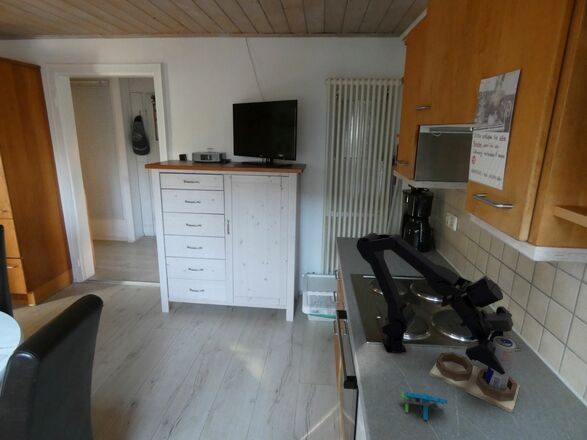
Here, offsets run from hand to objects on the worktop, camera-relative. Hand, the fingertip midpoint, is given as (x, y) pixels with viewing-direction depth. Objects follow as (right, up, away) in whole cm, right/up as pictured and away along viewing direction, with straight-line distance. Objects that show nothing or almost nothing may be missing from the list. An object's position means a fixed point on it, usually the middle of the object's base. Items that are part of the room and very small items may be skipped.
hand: (507, 364), depth 92 cm
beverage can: (-1, -8, +4) cm, 9 cm away
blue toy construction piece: (-23, -11, -2) cm, 26 cm away
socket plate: (-5, -8, +7) cm, 12 cm away
